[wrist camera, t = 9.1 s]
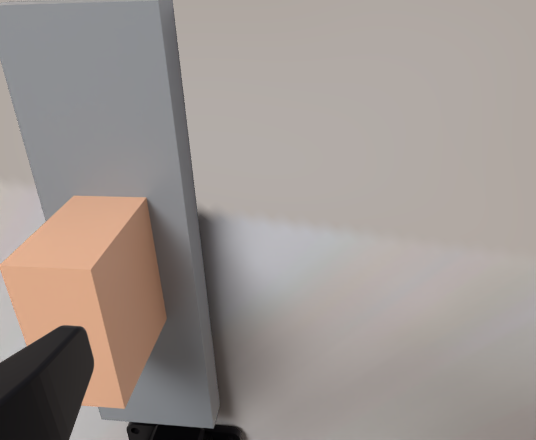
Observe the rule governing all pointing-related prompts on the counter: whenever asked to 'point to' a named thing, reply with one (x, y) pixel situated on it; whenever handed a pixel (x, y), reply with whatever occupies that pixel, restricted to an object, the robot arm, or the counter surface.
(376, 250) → the counter surface
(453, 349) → the counter surface
